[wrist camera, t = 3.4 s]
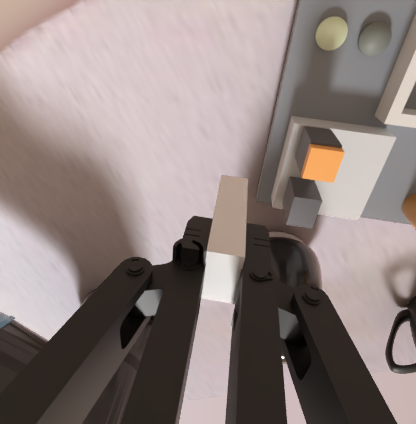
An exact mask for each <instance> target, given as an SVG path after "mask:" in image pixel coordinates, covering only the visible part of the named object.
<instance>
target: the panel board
mask: <svg viewBox="0 0 416 424" xmlns="http://www.w3.org/2000/svg"><path fill="white" fill-rule="evenodd" d="M304 126H309V127H317V128H324V129H331V130H332V132H333V133H334V134H335V136H336V137H337V139H338V140H339V142H340V143H341V144H342V149H343V150H344V152H345V153H344V156H343V159H342V161H341V164H340V167H339V169H338V172H337V175H336V178H335V180H334V183H331V182H324V181H317V180H315V183H316V185H317V188H318V191H319V193H320V196H321V199H322V204H321V206H320V209H319V212H318V215H324V216H331V217H338V218H344V219H351V220H359V218H360V217H364V218H371V219H377V220H384V221H391V222H398V223H404V224H411V223H410V222H409V220H408V219H407V218H406V216H405V215H404V214H403V212H402V210H401V206H402V203H403V202H404V200H405V199H406V198H407V197H409V196H410V195H412V194H415V193H416V0H298V4H297V9H296V14H295V18H294V23H293V27H292V32H291V36H290V41H289V46H288V50H287V55H286V59H285V64H284V69H283V73H282V78H281V82H280V87H279V92H278V96H277V101H276V105H275V110H274V114H273V119H272V124H271V128H270V133H269V137H268V142H267V147H266V151H265V156H264V160H263V165H262V169H261V174H260V179H259V183H258V188H257V192H256V202H262V203H269V204H272V208H277V209H283V203H282V202H283V198H284V195H285V191H286V188H287V184H288V180H289V177H290V176H291V177H298V178H302V176H301V175H300V172H299V169H298V166H297V162H296V159H295V155H296V152H297V148H298V144H299V141H300V137H301V134H302V130H303V127H304ZM411 225H412V224H411Z"/></svg>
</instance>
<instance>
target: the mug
mask: <svg viewBox="0 0 416 424" xmlns="http://www.w3.org/2000/svg"><path fill="white" fill-rule="evenodd" d="M406 321H410V326H411V332H412V337H413V340H414V344H415V347H416V297H414V298H413V299H412V300H411V301H410V302H409V304H408V309H406V310H402V311H400V312H399V313H398V314H397V316H396V318H395V320H394V323H393V326H392V329H391V332H390V336H389V339H388V342H387V346H386V352H385V355H386V360H387V363H388V366H389V368H390V370H391V371H393V372H395V373H400V374H406V373H413V372H416V363H415V364H411V365H397V364H395V363H394V361H393V356H392V349H393V343H394V339H395V336H396V333H397V331H398V329H399V327H400V325H401V324H402V323H404V322H406Z"/></svg>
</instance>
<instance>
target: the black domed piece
mask: <svg viewBox="0 0 416 424" xmlns="http://www.w3.org/2000/svg"><path fill="white" fill-rule="evenodd" d="M269 237H270V252H271V266H272V271H273V272H274V274H275V277H276V278H277V279H278V280H279V281H281V282H282V283H284V284H286V285H288V286H290V287H293V288H295V289H296V287H298V286H299V285H302V284H310V285H314V286H316V287H319V288H320V289H321V290H322V275H321V268H320V264H319V261H318V258H317V256H316V254H315V253H314V252H313V251H312V249H310V248H309V247H308V246H307V245H306V244H305V243H304V242H303V241H302V240H300V239H299V238H297V237H295V236H293V235H291V234H288V233H284V232H269ZM281 351H282V364H287V362H286V359H285V356H284V353H283V350H282V347H281Z"/></svg>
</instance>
